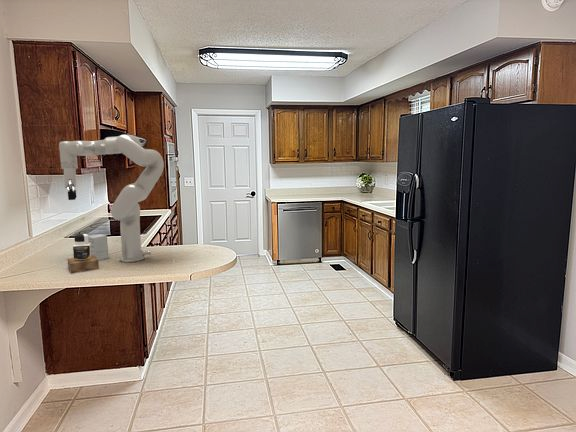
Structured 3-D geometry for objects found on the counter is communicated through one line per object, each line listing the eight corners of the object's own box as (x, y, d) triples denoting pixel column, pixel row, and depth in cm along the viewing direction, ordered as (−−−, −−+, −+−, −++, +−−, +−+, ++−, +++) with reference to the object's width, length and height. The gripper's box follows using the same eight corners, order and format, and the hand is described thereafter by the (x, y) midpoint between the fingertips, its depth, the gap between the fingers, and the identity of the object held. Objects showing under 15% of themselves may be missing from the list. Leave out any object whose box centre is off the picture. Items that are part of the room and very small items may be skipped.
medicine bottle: (73, 260, 192) (72, 235, 191) (75, 257, 199) (73, 233, 197) (90, 259, 195) (89, 234, 194) (91, 256, 201) (90, 232, 200)
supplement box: (102, 256, 220) (100, 233, 218) (109, 258, 216) (107, 235, 214) (88, 259, 215) (86, 235, 213) (95, 261, 210) (93, 237, 208)
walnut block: (94, 264, 205) (94, 255, 204) (99, 269, 195) (98, 259, 195) (68, 268, 199) (67, 258, 198) (71, 274, 189) (70, 263, 188)
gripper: (62, 165, 214) (65, 197, 216) (59, 166, 198) (63, 201, 201) (78, 165, 217) (81, 197, 219) (76, 165, 201) (80, 200, 204)
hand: (72, 198), depth 210 cm, fingers open, 9 cm apart
